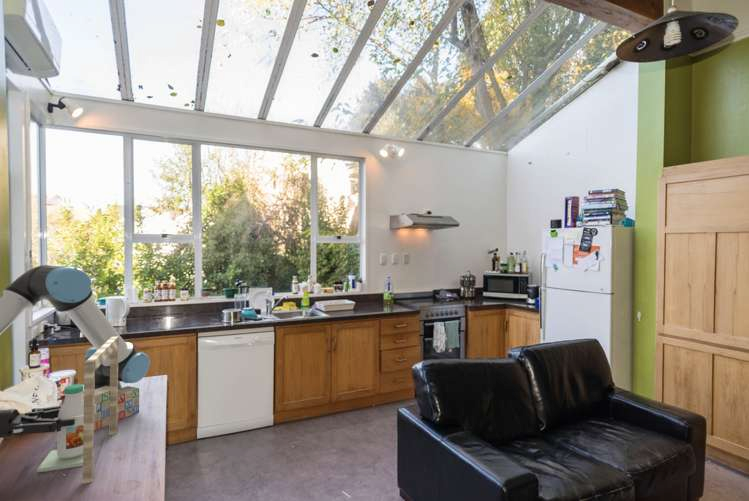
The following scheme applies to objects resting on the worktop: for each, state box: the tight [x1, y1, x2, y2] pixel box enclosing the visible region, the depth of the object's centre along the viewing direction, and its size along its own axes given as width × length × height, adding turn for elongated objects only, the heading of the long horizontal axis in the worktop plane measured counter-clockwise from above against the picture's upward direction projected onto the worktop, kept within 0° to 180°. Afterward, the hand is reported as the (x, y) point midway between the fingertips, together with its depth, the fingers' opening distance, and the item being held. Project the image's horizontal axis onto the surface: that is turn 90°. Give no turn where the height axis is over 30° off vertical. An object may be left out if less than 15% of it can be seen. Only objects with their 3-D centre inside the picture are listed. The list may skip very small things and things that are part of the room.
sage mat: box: [36, 449, 83, 473], centre depth 124 cm, size 11×11×1 cm
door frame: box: [82, 336, 119, 485], centre depth 127 cm, size 32×2×33 cm, turn 21°
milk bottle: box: [56, 383, 84, 458], centre depth 124 cm, size 8×8×20 cm
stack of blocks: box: [82, 385, 140, 432], centre depth 150 cm, size 21×6×12 cm, turn 160°
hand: (92, 414), depth 126 cm, fingers closed on milk bottle, 7 cm apart
